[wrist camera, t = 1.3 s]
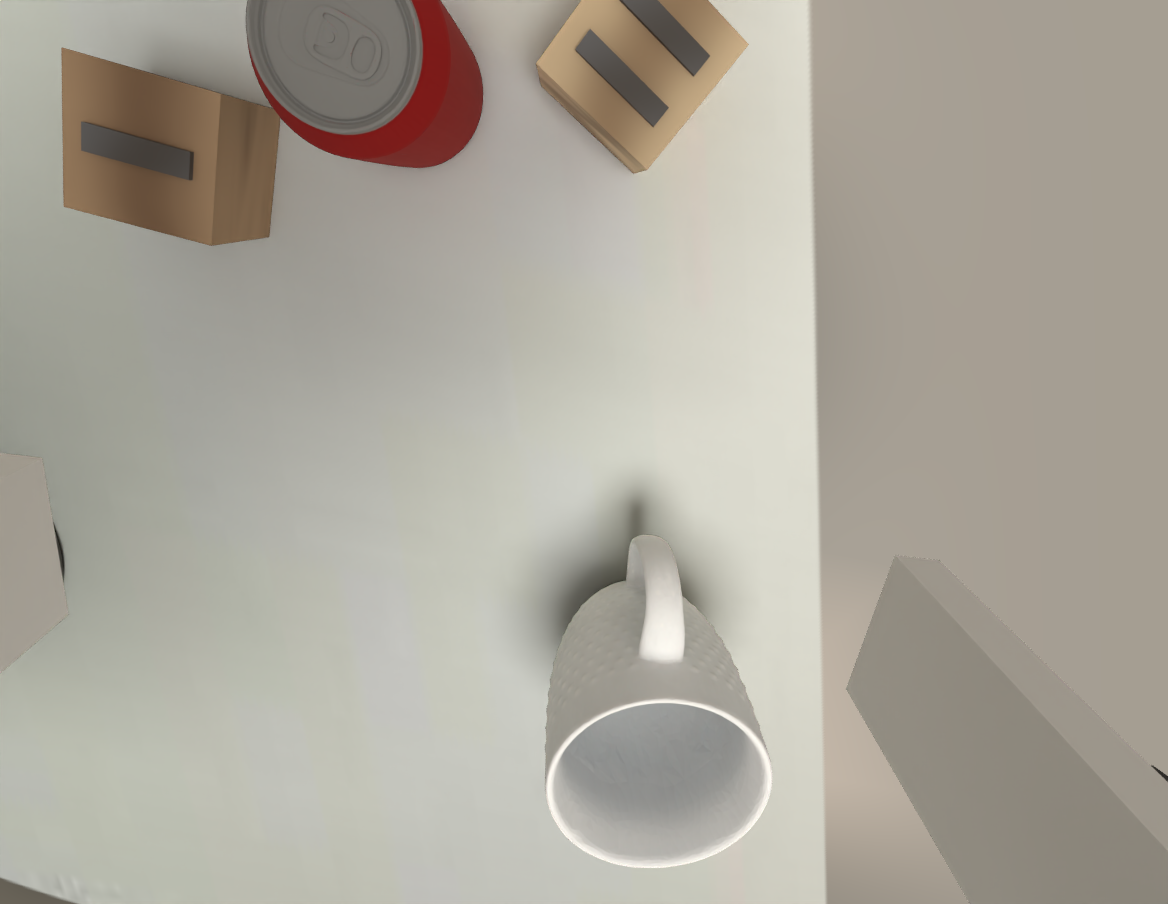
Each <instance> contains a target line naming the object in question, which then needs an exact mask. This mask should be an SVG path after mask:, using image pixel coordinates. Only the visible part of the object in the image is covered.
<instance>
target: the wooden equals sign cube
mask: <svg viewBox="0 0 1168 904" xmlns="http://www.w3.org/2000/svg"><path fill="white" fill-rule="evenodd" d="M748 45H749V44H748V43H747V42H746V41H745V40H744V39H743V38H742V37H741V36H740V35H739V33H738V32H737V31H736V30H735V29H734V28H733V27H732V26H731V25H730V24H729V23H728V22H727V20H726V19H725V18H724V17H723V16H722V15H721V14H720V13H719V12H718V11H717V10H716V9H715V7H714V6H713V5H712V4H711V3H710V2H709V1H708V0H581V2H580V3H579V4H578V6H577V7H576V9H575V10H574V11H573V13H572V14H571V15H570V17H569V18H568V20H567V21H566V22H565V24H564V25H563V27H562V28H561V29H560V31H559V32H558V34H557V35H556V36H555V38H554V39H553V40H552V42H551V43H550V45H549V46H548V47H547V49H546V50H545V52H544V53H543V54H542V56H541V57H540V59H539V60H538V61H537V63H536V66H537V70H538V75H539V79H540V83H541V86H542V87H543V88H544V89H545V90H546V91H547V92H548V93H549V94H550V95H551V96H552V97H553V98H554V99H555V100H556V101H557V102H559V103H560V104H561V105H562V106H563V107H564V108H565V109H566V110H567V111H568V112H569V113H570V114H571V115H572V116H573V117H574V118H575V119H576V120H578V121H579V122H580V123H581V124H582V125H583V126H584V127H585V128H586V129H587V130H588V131H589V132H590V133H591V134H592V135H593V136H594V137H595V138H597V139H598V140H599V141H600V142H601V143H602V144H603V145H604V146H605V147H606V148H607V149H608V150H609V151H610V152H611V153H612V154H613V155H614V156H615V157H617V158H618V159H619V160H620V161H621V162H622V163H623V164H624V165H625V166H626V167H627V168H628V169H629V170H630V171H631V172H632V173H633V174H634V173H637V172H641V171H644V170H647V169H648V168H649V167H650V166H651V164H652V163H653V162H654V161H655V159H656V158H657V157H658V156H659V155H660V153H661V152H662V151H663V150H664V148H665V147H666V146H667V145H668V143H669V142H670V141H671V140H672V139H673V137H674V136H675V135H676V134H677V132H678V131H679V130H680V129H681V127H682V126H683V125H684V124H685V122H686V121H687V120H688V119H689V118H690V116H691V115H692V114H693V113H694V111H695V110H696V109H697V108H698V106H699V105H700V104H701V103H702V102H703V100H704V99H705V98H706V97H707V95H708V94H709V93H710V92H711V90H712V89H713V88H714V87H715V86H716V84H717V83H718V82H719V81H720V79H721V78H722V77H723V76H724V74H725V73H726V72H727V71H728V69H729V68H730V67H731V66H732V65H733V63H734V62H735V61H736V60H737V58H738V57H739V56H740V55H741V53H742V52H743V51H744V50H745V49H746V47H747V46H748Z"/></svg>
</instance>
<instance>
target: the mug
mask: <svg viewBox="0 0 1168 904" xmlns="http://www.w3.org/2000/svg"><path fill="white" fill-rule="evenodd" d="M546 712H547V723H546V727H545V728H546V744H545V753H546V763H545V791H546V798H547V803H548V807H549V809H550V812H551V815H552V817H553V819H554V821H555V822H556V824H557V826H558V827H559V829H560V830H561V831H562V832H563V834H564V835H565V836H566V837H567V838H568V839H569V840H570V841H571V842H572V843H574V844H575V845H576V846H577V847H579V848H580V849H582V850H583V851H585V852H586V853H588V854H590V855H592V856H594V857H596V858H599V859H602V860H604V861H607V862H610V863H614V864H618V865H622V866H629V867H636V868H664V867H672V866H678V865H684V864H688V863H692V862H695V861H699V860H702V859H705V858H707V857H709V856H711V855H714V854H716V853H718V852H720V851H722V850H724V849H725V848H727V847H729V846H730V845H732V844H733V843H735V842H736V841H737V840H739V839H740V838H741V837H742V836H743V835H744V834H745V833H746V832H748V831H749V830H750V828H751V827H752V826H753V825H754V824H755V823H756V821H757V820H758V818H759V817H760V816H761V814H762V812H763V810H764V808H765V806H766V804H767V802H768V799H769V796H770V793H771V788H772V766H771V761H770V757H769V754H768V751H767V748H766V745H765V742H764V739H763V737H762V734H761V731H760V725H759V723H758V721H757V720H756V717H755V714H754V709H753V706H752V704H751V702H750V700H749V698H748V696H747V693H746V689H745V685H744V684H743V683H742V681H741V679H740V676H739V672H738V669H737V667H736V666H735V665H734V663H733V661H732V658H731V654H730V653H729V651H728V650H727V649H726V648H725V646H724V643H723V640H722V639H721V638H720V637H719V636H718V635H717V633H716V632H715V629H714V627H713V626H712V625H710V624H709V622H708V621H707V620H706V618H705V616H704V615H703V614H701V613H700V612H699V611H698V610H697V608H696V607H695V606H694V605H692V604H691V603H690V602H688V600H687V599H686V598H685V597H683V596H682V590H681V583H680V577H679V572H678V567H677V564H676V560H675V557H674V555H673V552H672V550H671V548H670V546H669V544H668V543H667V542H666V541H665V540H664V539H662V538H661V537H658V536H654V535H640V536H637V537H635V538H633V539H632V541H631V543H630V546H629V553H628V563H627V577H626V581H621V582H617V583H614V584H611V585H609V586H607V587H605V588H603V589H601V590H599V591H598V592H596V593H595V594H594V595H593V596H591V597H590V598H589V599H588V600H587V601H586V602H585V603H584V604H583V605H581V607H580V608H579V610H578V612H577V613H576V614H575V615H574V616H573V618H572V621H571V622H570V623H569V624H568V626H567V629H566V632H565V633H564V635H563V636H562V640H561V644H560V646H559V647H558V649H557V656H556V658H555V660H554V662H553V672H552V674H551V678H550V688H549V691H548V705H547V711H546Z"/></svg>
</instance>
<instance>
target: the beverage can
mask: <svg viewBox="0 0 1168 904" xmlns="http://www.w3.org/2000/svg"><path fill="white" fill-rule="evenodd" d="M246 32H247V41H248V48H249V54H250V58H251V62H252V66H253V69H254V72H255V75H256V77H257V80H258V82H259V84H260V86H261V88H262V90H263V92H264V94H265V96H266V98H267V99H268V101H269V103H270V104H271V106H272V107H273V109H274V110H275V111H276V113H277V114H278V115H279V116H280V118H281V119H282V120H283V121H284V122H285V123H286V124H287V125H288V126H289V127H290V128H291V129H292V130H293V131H294V132H295V133H297V134H298V135H299V136H300V137H302V138H303V139H304V140H306V141H307V142H309V143H310V144H312V145H314V146H316V147H317V148H319V149H322V150H324V151H326V152H329V153H331V154H334V155H338V156H342V157H346V158H351V159H356V160H361V161H367V162H373V163H379V164H385V165H393V166H401V167H412V168H424V167H431V166H435V165H438V164H441V163H443V162H445V161H447V160H449V159H451V158H452V157H454V156H455V155H456V154H458V153H459V152H460V151H461V150H462V149H463V148H464V147H465V146H466V144H467V143H468V142H469V140H470V139H471V137H472V136H473V134H474V132H475V130H476V128H477V125H478V122H479V120H480V116H481V111H482V104H483V86H482V79H481V74H480V70H479V67H478V64H477V61H476V59H475V56H474V54H473V52H472V50H471V49H470V47H469V45H468V43H467V42H466V40H465V38H464V37H463V35H462V33H461V31H460V30H459V28H458V27H457V25H456V23H455V22H454V20H453V19H452V17H451V16H450V14H449V13H448V11H447V10H446V8H445V7H444V5H443V4H442V2H441V1H440V0H248V1H247V7H246Z"/></svg>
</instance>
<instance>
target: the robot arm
mask: <svg viewBox="0 0 1168 904" xmlns="http://www.w3.org/2000/svg"><path fill="white" fill-rule="evenodd" d="M62 576H63V562H62V555H61V550H60V546H59V542H58V539H57V536H56V534H55V530H54V524H53V518H52V513H51V507H50V501H49V495H48V489H47V483H46V477H45V471H44V465H43V459H42V458H41V457H32V456H23V455H14V454H6V453H0V673H1V672H3V671H4V670H5V669H6V668H7V667H8V666H10V665H11V664H12V663H13V662H14V661H15V660H17V659H18V658H19V657H20V656H21V655H22V654H24V653H25V652H26V651H27V650H28V649H29V648H31V647H32V646H33V645H34V644H35V643H36V642H38V641H39V640H40V639H41V638H42V637H43V636H44V635H46V634H47V633H48V632H49V631H50V630H51V629H53V628H54V627H55V626H56V625H57V624H58V623H60V622H61V621H62V620H63V619H64V618H65V617H67V616H68V615H69V613H68V607H67V601H66V595H65V589H64V583H63V578H62ZM846 690H847V691H848V693H849V695H850V696H851V698H852V700H853V702H854V703H855V705H856V707H857V709H858V710H859V712H860V714H861V715H862V717H863V719H864V721H865V723H866V724H867V726H868V728H869V730H870V731H871V733H872V735H873V737H874V738H875V740H876V742H877V743H878V745H879V747H880V749H881V750H882V752H883V754H884V756H885V757H886V759H887V761H888V762H889V764H890V766H891V768H892V769H893V771H894V773H895V775H896V777H897V778H898V780H899V782H900V783H901V785H902V787H903V789H904V790H905V792H906V794H907V796H908V797H909V799H910V801H911V803H912V804H913V806H914V808H915V810H916V811H917V813H918V815H919V816H920V818H921V820H922V822H923V823H924V825H925V827H926V829H927V830H928V832H929V834H930V836H931V837H932V839H933V841H934V842H935V844H936V846H937V848H938V849H939V851H940V853H941V855H942V856H943V858H944V860H945V862H946V863H947V865H948V867H949V869H950V870H951V872H952V874H953V876H954V877H955V879H956V881H957V883H958V884H959V886H960V888H961V890H962V891H963V893H964V895H965V896H966V898H967V900H968V901H969V903H970V904H1168V776H1167V775H1165V774H1164V773H1163V772H1161V771H1160V770H1158V769H1157V768H1155V767H1154V766H1151V765H1150V764H1148V763H1147V762H1146V761H1145V760H1144V759H1143V758H1142V757H1141V756H1140V755H1139V754H1138V753H1137V752H1136V751H1135V750H1134V749H1133V748H1132V747H1131V746H1130V745H1129V744H1128V743H1127V742H1126V741H1125V740H1124V739H1123V738H1121V736H1120V735H1119V734H1117V732H1116V731H1115V730H1114V729H1113V728H1111V727H1110V726H1109V725H1108V724H1107V723H1106V722H1105V721H1104V720H1103V719H1102V718H1101V717H1100V716H1099V715H1098V714H1097V713H1096V712H1095V711H1094V710H1093V709H1092V708H1091V707H1090V706H1089V705H1088V704H1087V703H1086V702H1085V701H1084V700H1083V699H1082V698H1081V697H1080V696H1079V695H1077V694H1076V693H1075V692H1074V691H1073V690H1072V689H1071V688H1070V687H1069V686H1068V685H1067V684H1066V683H1065V682H1064V681H1063V680H1062V679H1061V678H1060V677H1059V676H1058V675H1057V674H1056V673H1055V672H1054V671H1053V670H1052V669H1051V668H1050V667H1049V666H1048V665H1047V664H1046V663H1045V662H1044V661H1043V660H1042V659H1040V658H1039V657H1038V656H1037V655H1036V654H1035V653H1034V652H1033V651H1032V650H1031V649H1030V648H1029V647H1028V646H1027V645H1026V644H1025V643H1024V642H1023V641H1022V640H1021V639H1020V638H1019V637H1018V636H1017V635H1016V634H1015V633H1014V632H1012V630H1010V628H1009V627H1008V626H1007V625H1005V624H1004V623H1003V622H1002V621H1001V620H1000V619H999V618H998V617H997V616H996V615H995V614H994V613H993V612H992V611H991V610H990V609H989V608H988V607H987V606H986V605H985V604H984V603H983V602H982V601H981V600H980V599H979V598H978V597H977V596H976V595H975V594H974V593H973V592H971V590H969V589H968V588H967V587H966V586H965V585H964V584H963V583H962V582H961V581H960V580H959V579H958V578H957V577H956V576H955V575H954V574H953V573H952V572H951V571H950V570H949V569H948V568H947V567H946V566H945V565H944V564H943V563H942V562H941V561H940V560H934V559H933V560H932V559H925V558H916V557H907V556H899V555H895V556H894V559H893V562H892V565H891V567H890V570H889V573H888V575H887V578H886V581H885V584H884V587H883V590H882V592H881V595H880V597H879V600H878V603H877V606H876V609H875V611H874V614H873V617H872V619H871V622H870V625H869V627H868V630H867V633H866V636H865V638H864V641H863V644H862V647H861V649H860V652H859V655H858V658H857V660H856V663H855V666H854V668H853V671H852V674H851V677H850V680H849V682H848V685H847V688H846Z"/></svg>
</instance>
